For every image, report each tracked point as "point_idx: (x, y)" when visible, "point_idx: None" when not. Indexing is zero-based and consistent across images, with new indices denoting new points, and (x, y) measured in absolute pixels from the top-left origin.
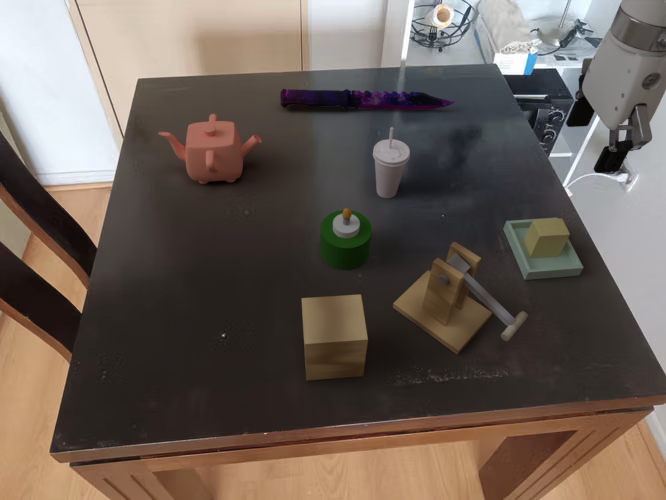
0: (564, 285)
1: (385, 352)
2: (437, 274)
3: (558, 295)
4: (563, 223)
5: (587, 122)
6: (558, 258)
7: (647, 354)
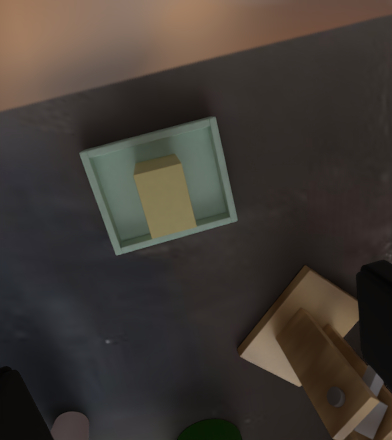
0: (235, 146)
1: None
2: None
3: (258, 160)
4: (149, 174)
5: (9, 395)
6: (180, 154)
7: (368, 20)
